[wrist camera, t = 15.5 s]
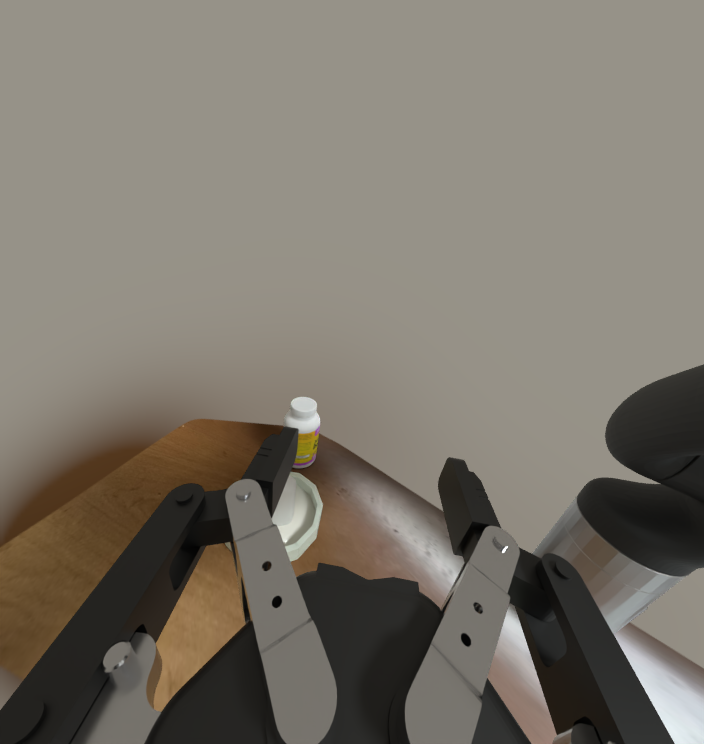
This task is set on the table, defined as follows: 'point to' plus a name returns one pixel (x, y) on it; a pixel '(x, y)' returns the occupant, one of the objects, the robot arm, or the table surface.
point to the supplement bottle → (304, 429)
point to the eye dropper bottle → (285, 504)
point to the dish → (301, 518)
